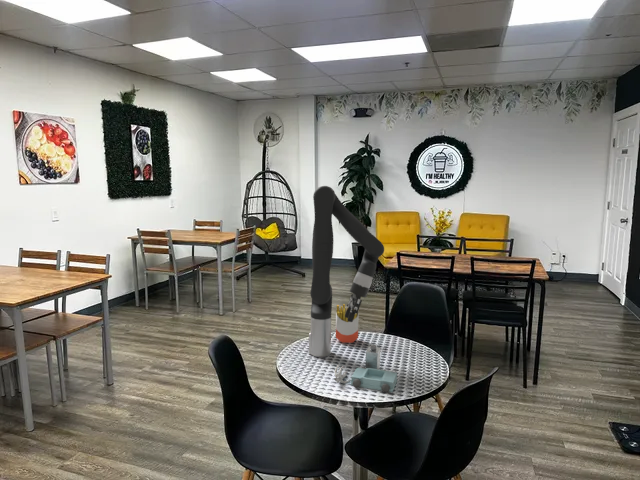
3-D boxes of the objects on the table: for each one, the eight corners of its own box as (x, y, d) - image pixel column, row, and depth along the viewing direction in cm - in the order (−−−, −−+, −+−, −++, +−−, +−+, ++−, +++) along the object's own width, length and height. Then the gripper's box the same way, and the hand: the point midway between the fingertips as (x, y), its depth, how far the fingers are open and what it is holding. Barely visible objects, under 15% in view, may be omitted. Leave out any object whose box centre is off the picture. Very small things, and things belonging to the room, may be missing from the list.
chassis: (350, 386, 165) (350, 377, 164) (358, 373, 177) (358, 364, 176) (391, 393, 160) (392, 384, 159) (397, 379, 171) (397, 370, 171)
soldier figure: (353, 377, 175) (352, 381, 164) (344, 385, 175) (342, 390, 163) (340, 362, 177) (338, 365, 165) (331, 370, 177) (328, 373, 165)
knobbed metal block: (365, 372, 177) (366, 347, 176) (368, 366, 183) (369, 342, 182) (376, 374, 176) (377, 349, 174) (379, 368, 181) (380, 344, 180)
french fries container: (358, 343, 209) (359, 306, 207) (335, 342, 210) (336, 306, 207) (357, 339, 214) (358, 304, 211) (335, 339, 214) (336, 303, 212)
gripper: (350, 279, 194) (338, 313, 194) (356, 283, 180) (342, 319, 180) (366, 285, 195) (353, 319, 194) (372, 289, 181) (358, 325, 180)
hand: (348, 319), depth 187 cm, fingers open, 8 cm apart
